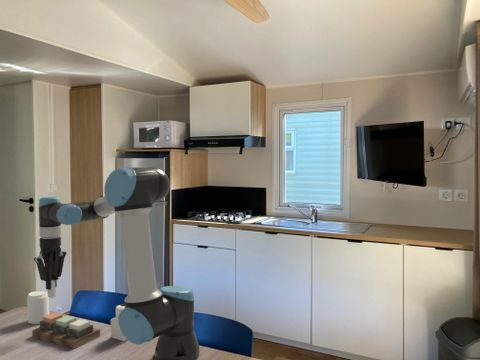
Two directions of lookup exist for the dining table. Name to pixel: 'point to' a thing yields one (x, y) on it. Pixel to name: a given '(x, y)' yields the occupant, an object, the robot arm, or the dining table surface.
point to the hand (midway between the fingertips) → (51, 296)
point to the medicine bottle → (117, 325)
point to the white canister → (37, 306)
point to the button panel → (65, 334)
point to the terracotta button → (52, 318)
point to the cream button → (79, 325)
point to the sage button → (65, 321)
